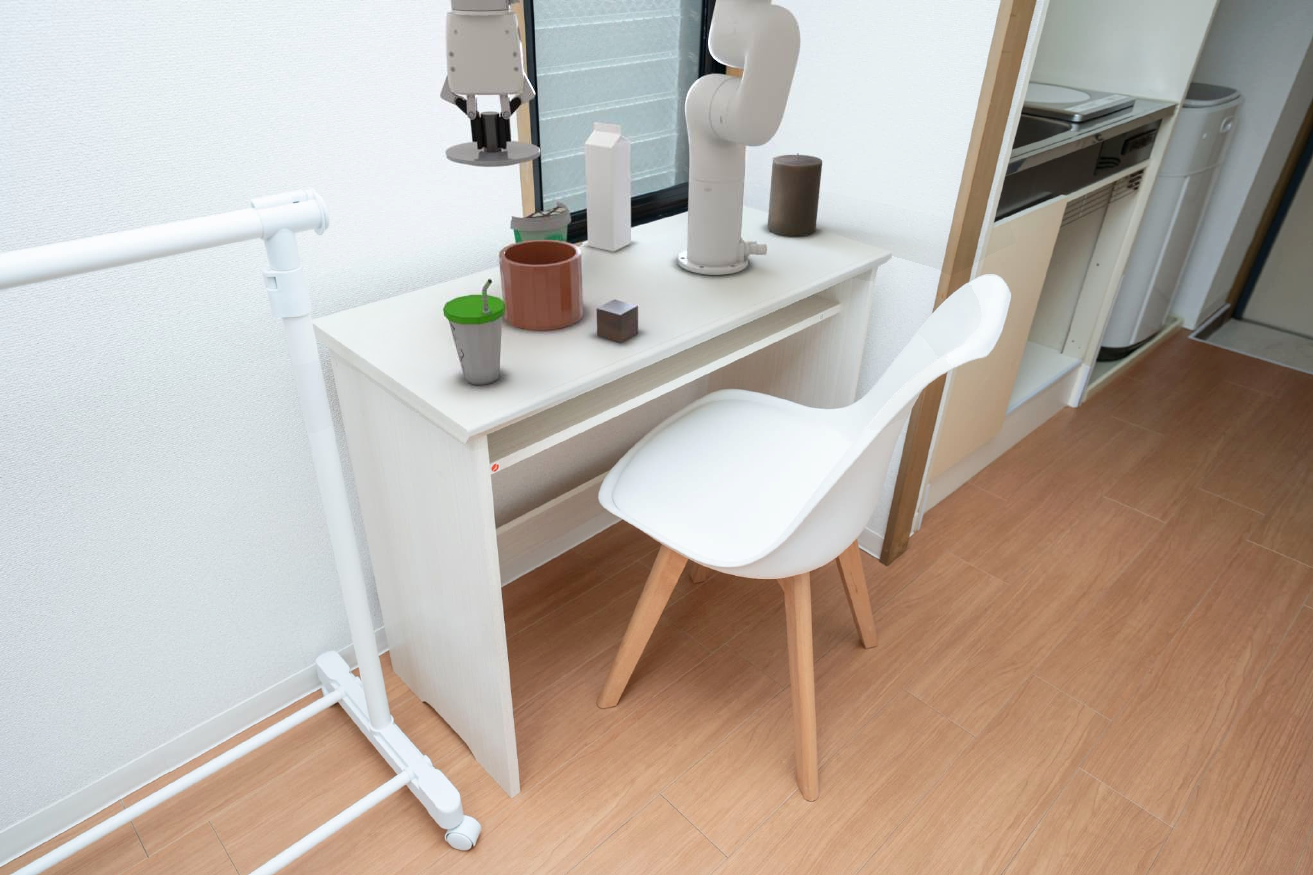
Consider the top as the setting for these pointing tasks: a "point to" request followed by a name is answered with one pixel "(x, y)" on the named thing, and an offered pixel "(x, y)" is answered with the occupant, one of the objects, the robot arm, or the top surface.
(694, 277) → the top surface
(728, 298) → the top surface
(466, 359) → the cup
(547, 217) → the food container
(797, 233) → the pillar candle
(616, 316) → the block
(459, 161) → the lid
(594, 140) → the milk
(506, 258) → the canister
